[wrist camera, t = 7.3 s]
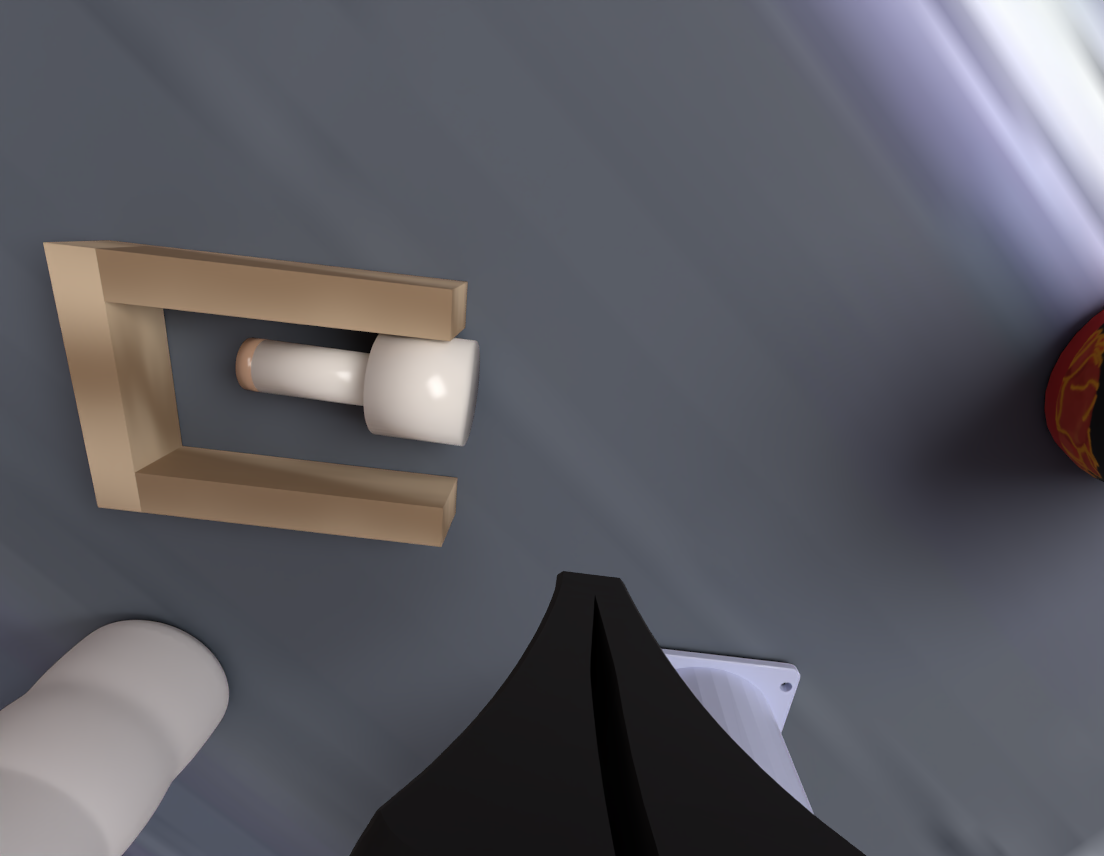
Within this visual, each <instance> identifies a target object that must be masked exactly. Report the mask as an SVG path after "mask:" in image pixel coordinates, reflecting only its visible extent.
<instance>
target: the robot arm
mask: <svg viewBox="0 0 1104 856" xmlns="http://www.w3.org/2000/svg"><path fill="white" fill-rule="evenodd" d="M799 680H800V674H799V672H798V670H797V668H796V666H794V665H793V664H789V663H782V662H773V661H764V660H756V659H747V658H738V657H730V656H721V655H712V654H704V653H695V652H686V651H678V650H669V649H661V647H660V646H659V644H658V643H657V641H656V640H655V638H654V636H653V635H652V633H651V632H650V630H649V628H648V627H647V625H646V623H645V622H644V620H643V618H642V616H641V615H640V613H639V611H638V609H637V608H636V606H635V604H634V602H633V600H632V598H631V597H630V595H629V593H628V591H627V589H626V587H625V585H624V583H623V582H622V580H621V579H620V578H615V577H607V576H598V575H590V574H582V573H574V572H566V571H563V572H561V573H560V574H558V575H557V580H556V587H555V591H554V594H553V597H552V599H551V602H550V604H549V607H548V609H547V611H546V613H545V615H544V617H543V619H542V621H541V624H540V626H539V628H538V630H537V632H536V633H535V635H534V637H533V639H532V640H531V642H530V644H529V645H528V647H527V649H526V650H525V652H524V654H523V655H522V657H521V659H520V660H519V662H518V663H517V665H516V666H515V668H514V669H513V671H512V672H511V674H510V675H509V676H508V678H507V679H506V681H505V682H504V683H503V685H502V686H501V687H500V689H499V690H498V691H497V693H496V694H495V695H494V697H493V698H492V699H491V700H490V701H489V703H488V704H487V705H486V706H485V707H484V709H483V710H482V711H481V712H480V713H479V715H478V716H477V717H476V718H475V719H474V720H473V722H472V723H471V724H470V725H469V726H468V727H467V728H466V729H465V730H464V732H463V733H462V734H461V735H460V736H459V737H458V738H457V739H456V740H455V741H454V742H453V743H452V744H451V745H450V746H449V747H448V748H447V749H446V750H445V751H444V752H443V753H442V754H441V755H440V756H439V757H438V758H437V759H436V760H435V761H434V762H433V763H432V764H430V765H429V766H428V767H427V768H426V769H425V770H424V771H423V772H422V773H421V774H419V775H418V776H417V777H416V778H415V779H414V780H412V781H411V782H410V783H409V784H408V785H406V786H405V787H404V788H403V789H402V790H400V791H399V792H398V793H397V794H396V795H395V796H393V797H392V798H391V799H390V800H389V801H387V802H386V803H385V804H384V805H383V806H381V807H380V808H379V809H378V810H377V811H376V813H375V814H374V816H373V817H372V819H371V821H370V822H369V824H368V825H367V827H366V829H365V830H364V832H363V833H362V835H361V837H360V838H359V840H358V842H357V843H356V845H355V847H354V849H353V850H352V852H351V854H350V855H349V856H866V855H865V854H863V853H862V852H861V851H860V850H858V849H857V848H856V847H854V846H853V845H852V844H850V843H849V842H848V841H847V840H845V839H844V838H843V837H841V836H840V835H839V834H838V833H836V832H835V831H834V830H832V829H831V828H830V827H828V826H827V825H826V824H825V823H823V822H822V821H821V820H820V819H818V818H817V817H816V816H815V815H814V813H813V811H812V808H811V806H810V803H809V801H808V799H807V796H806V794H805V791H804V789H803V786H802V784H801V781H800V779H799V776H798V774H797V771H796V769H795V766H794V764H793V762H792V759H791V757H790V754H789V752H788V749H787V747H786V744H785V742H784V739H783V737H782V734H781V732H782V729H783V726H784V724H785V721H786V718H787V715H788V712H789V709H790V706H791V703H792V700H793V697H794V695H795V692H796V689H797V686H798V683H799ZM787 682H788V683H787ZM783 683H786V684H784V685H781V684H783Z"/></svg>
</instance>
